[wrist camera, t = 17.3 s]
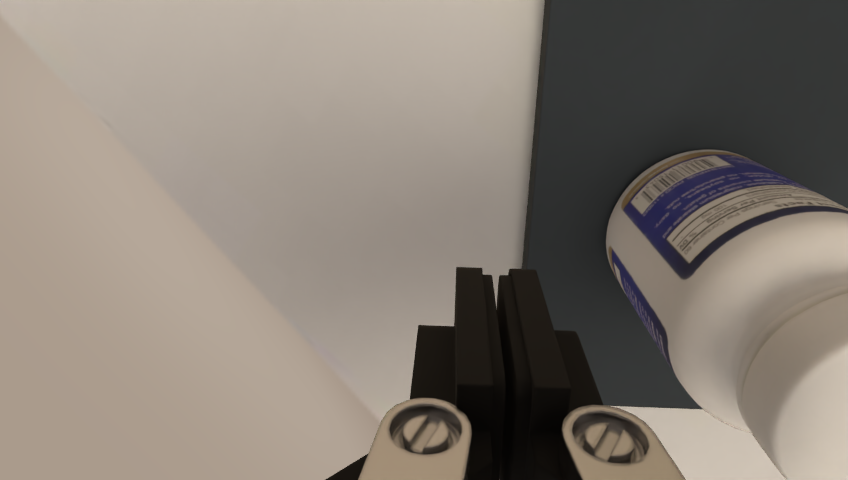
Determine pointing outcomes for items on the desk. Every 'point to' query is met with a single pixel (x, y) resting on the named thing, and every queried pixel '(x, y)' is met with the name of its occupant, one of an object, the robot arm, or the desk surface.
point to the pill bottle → (744, 299)
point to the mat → (667, 141)
